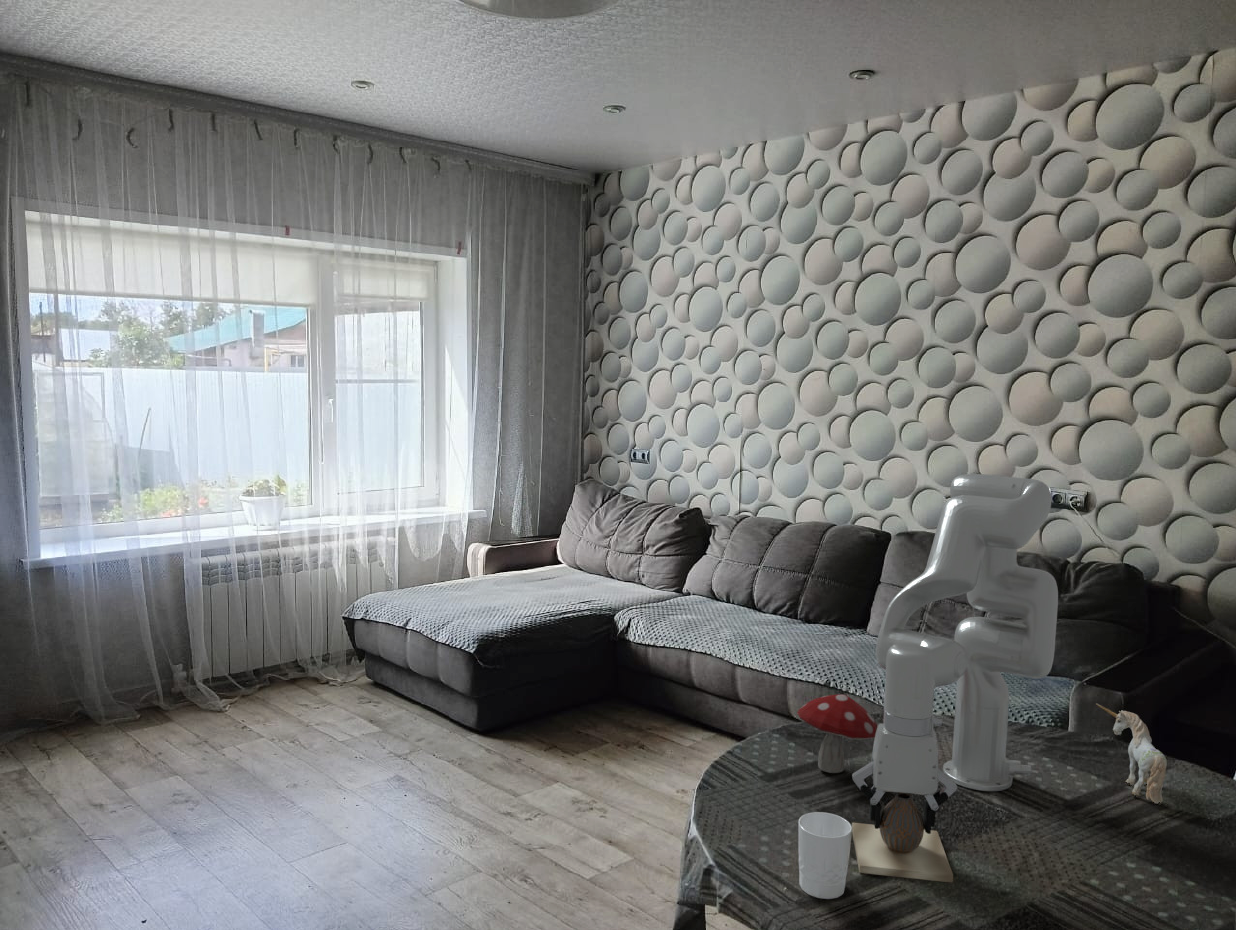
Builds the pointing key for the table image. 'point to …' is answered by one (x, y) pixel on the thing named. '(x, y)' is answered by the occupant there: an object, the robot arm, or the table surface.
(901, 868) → the birch pad
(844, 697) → the decorative mushroom
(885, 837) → the vase
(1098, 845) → the table surface
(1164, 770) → the unicorn figurine
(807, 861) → the white cup
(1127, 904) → the table surface
